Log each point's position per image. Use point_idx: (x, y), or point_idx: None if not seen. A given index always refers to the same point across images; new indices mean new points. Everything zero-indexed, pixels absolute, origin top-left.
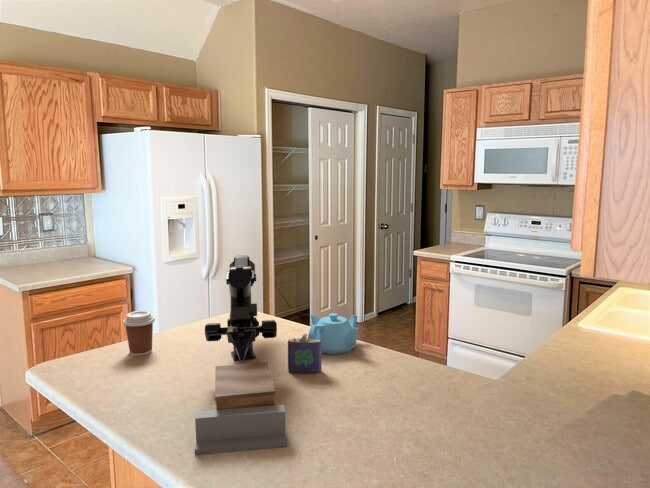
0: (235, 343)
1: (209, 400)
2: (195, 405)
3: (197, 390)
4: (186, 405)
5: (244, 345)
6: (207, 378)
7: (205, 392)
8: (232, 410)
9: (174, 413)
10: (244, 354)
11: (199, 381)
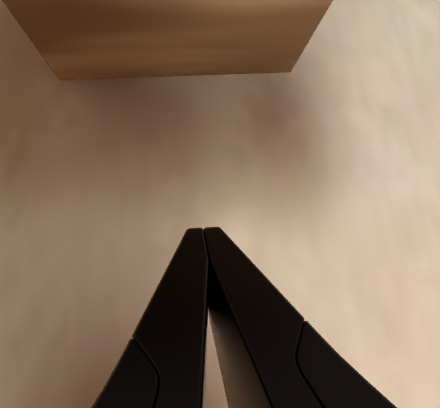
0: (359, 385)
1: (327, 89)
2: (372, 56)
3: (400, 194)
4: (406, 62)
5: (170, 361)
6: (388, 335)
7: (361, 168)
8: None
9: (430, 11)
10: (174, 257)
11: (418, 298)
